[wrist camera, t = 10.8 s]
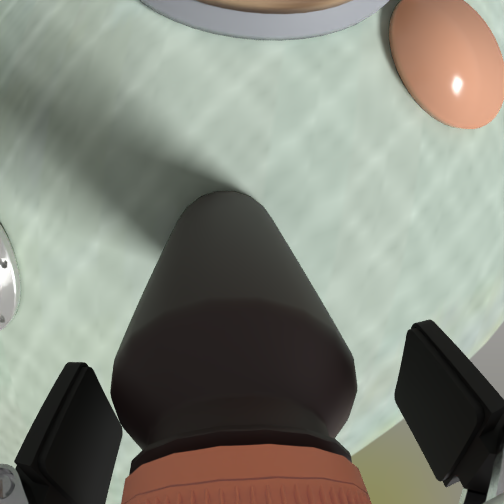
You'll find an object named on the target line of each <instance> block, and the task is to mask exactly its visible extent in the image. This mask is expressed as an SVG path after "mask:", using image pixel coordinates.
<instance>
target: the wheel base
mask: <svg viewBox="0 0 504 504" xmlns="http://www.w3.org/2000/svg"><path fill="white" fill-rule="evenodd" d="M140 1H141V2H142V3H144V4H145V5H147V6H148V7H150V8H151V9H153V10H154V11H156V12H157V13H159V14H161V15H163V16H165V17H167V18H169V19H171V20H173V21H176V22H178V23H181V24H184V25H186V26H189V27H192V28H195V29H199V30H202V31H206V32H209V33H213V34H218V35H224V36H229V37H235V38H244V39H254V40H293V39H305V38H311V37H317V36H323V35H326V34H330V33H334V32H337V31H341V30H343V29H346V28H348V27H351V26H353V25H356V24H357V23H359V22H361V21H363V20H364V19H366V18H368V17H370V16H371V15H372V14H374V13H375V12H376V11H378V10H379V9H380V8H381V7H383V6H384V5H385V4H386V3H387V2H388V1H389V0H353V1H350V2H348V3H345V4H342V5H340V6H337V7H333V8H329V9H325V10H321V11H314V12H308V13H296V14H261V13H250V12H242V11H236V10H230V9H224V8H220V7H216V6H212V5H208V4H204V3H201V2H199V1H196V0H140Z"/></svg>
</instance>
